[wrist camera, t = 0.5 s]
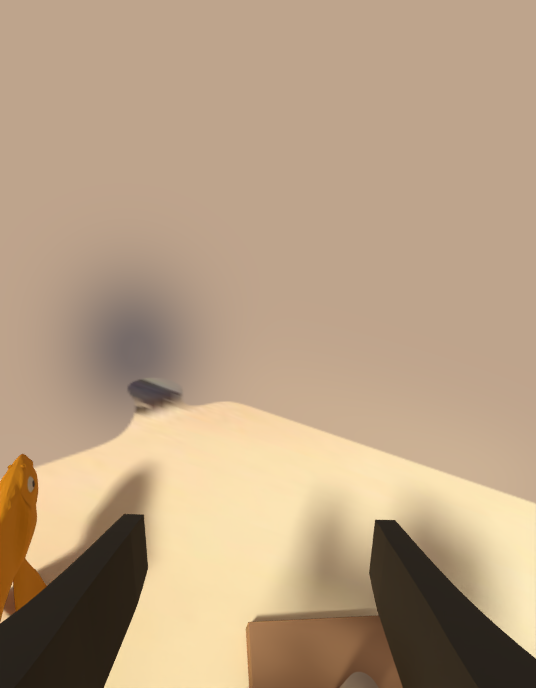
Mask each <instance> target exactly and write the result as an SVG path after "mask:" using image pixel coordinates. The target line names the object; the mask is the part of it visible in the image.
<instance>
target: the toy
mask: <svg viewBox="0 0 536 688" xmlns="http://www.w3.org/2000/svg"><path fill="white" fill-rule="evenodd" d="M37 496H38V479H37V473H36V471H35V469H34V468H33V462H32V460H30V459H29V458H28V457H27V456H26V455H24V454H21V455H20V456H19V457H18V458H17V459H16V460H15V461H14V462H13V464H12V465H9V466H8V471H7V473H6V474H5V475H4V476H3V478H2V480H1V481H0V621H1V617H2V612H3V609H4V605H5V602H6V599H7V596H8V593H9V590H10V587H11V585H12V582H13V587H14V600H15V608H16V611H18V610H19V609H20V608H21V607H23V606H24V605H25V604H26V603H28V602H29V601H30V600H31V599H33V598H34V597H35V596H36V595H37V594H38V593H40V592H41V591H42V590H43V589H44V588H45V587H47V586H46V585H45V583H44V581H43V580H42V578H41V577H40V575H39V574H38V572H37V571H36V570H35V569H34V568H33V567H32V566H31V565H30V564H29V563H28V562H27V560H26V559H25V557H26V554H27V551H28V548H29V545H30V542H31V539H32V536H33V534H34V530H35V526H36V522H37V511H36V502H37Z"/></svg>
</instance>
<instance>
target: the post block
mask: <svg viewBox="0 0 536 688" xmlns="http://www.w3.org/2000/svg"><path fill="white" fill-rule="evenodd" d="M246 638H247V655H248V673H249V688H403V687H402V684H401V681H400V678H399V675H398V672H397V669H396V666H395V663H394V660H393V657H392V654H391V651H390V648H389V645H388V642H387V639H386V636H385V633H384V629H383V626H382V623H381V620H380V617H379V616H360V617H340V618H320V619H301V620H281V621H261V622H248V625H247V627H246Z"/></svg>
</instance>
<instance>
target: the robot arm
mask: <svg viewBox="0 0 536 688" xmlns="http://www.w3.org/2000/svg"><path fill="white" fill-rule="evenodd" d="M147 570H148V562H147V550H146V537H145V525H144V515H137V514H124V515H123V516H122V517H121V518H120V519H119V520H117V521H116V522H115V523H114V524H113V525H112V526H111V527H110V528H109V529H108V530H107V531H106V532H105V533H104V534H103V535H102V536H101V537H100V538H99V539H98V540H97V541H96V542H95V543H94V544H93V545H92V546H91V547H90V548H88V549H87V550H86V551H85V552H84V553H83V554H82V555H81V556H80V557H79V558H78V559H77V560H76V561H75V562H73V563H72V564H71V565H70V566H69V567H68V568H67V569H66V570H65V571H64V572H63V573H62V574H60V575H59V576H58V577H57V578H56V579H55V580H53V581H52V582H51V583H50V584H49V585H48V586H47V587H45V588H44V589H43V590H42V591H41V592H40V593H38V594H37V595H36V596H35V597H34V598H33V599H31V600H30V601H29V602H28V603H26V604H25V605H24V606H23V607H21V608H20V609H19V610H18V611H16V612H15V613H14V614H12V615H11V616H10V617H8V618H7V619H6V620H4V621H3V622H2V623H1V624H0V688H104V686H105V683H106V681H107V678H108V676H109V673H110V671H111V668H112V666H113V664H114V661H115V659H116V656H117V654H118V651H119V649H120V647H121V644H122V642H123V639H124V637H125V634H126V632H127V629H128V627H129V625H130V622H131V620H132V617H133V615H134V612H135V610H136V607H137V604H138V601H139V598H140V594H141V591H142V588H143V584H144V581H145V577H146V574H147ZM369 574H370V579H371V584H372V589H373V593H374V598H375V602H376V606H377V611H378V614H379V617H380V620H381V623H382V626H383V629H384V633H385V636H386V639H387V642H388V645H389V648H390V651H391V654H392V657H393V660H394V663H395V666H396V669H397V672H398V675H399V678H400V681H401V684H402V687H403V688H536V659H535V658H534V657H533V656H532V655H531V654H529V653H528V652H527V651H526V650H524V649H523V648H522V647H521V646H520V645H518V644H517V643H516V642H515V641H514V640H513V639H511V638H510V637H509V636H508V635H507V634H506V633H504V632H503V631H502V630H501V629H500V628H499V627H498V626H496V625H495V624H494V623H493V622H492V621H491V620H490V619H489V618H487V617H486V616H485V615H484V614H483V613H482V612H481V611H480V610H479V609H478V608H477V607H476V606H475V605H474V604H473V603H472V602H471V601H469V600H468V599H467V598H466V597H465V596H464V595H463V594H462V593H461V592H460V591H459V590H458V589H457V588H456V587H455V586H454V585H453V584H452V583H451V582H450V580H449V579H448V578H447V577H446V576H445V575H444V574H443V573H442V572H441V571H440V570H439V569H438V568H437V567H436V566H435V565H434V563H433V562H432V561H431V560H430V559H429V558H428V557H427V556H426V555H425V554H424V552H423V551H422V550H421V549H420V548H419V547H418V546H417V545H416V543H415V542H414V541H413V540H412V539H411V538H410V537H409V535H408V534H407V533H406V532H405V531H404V530H403V529H402V528H401V526H400V525H399V524H398V523H397V522H396V521H395V520H375V526H374V535H373V544H372V553H371V562H370V571H369Z"/></svg>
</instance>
